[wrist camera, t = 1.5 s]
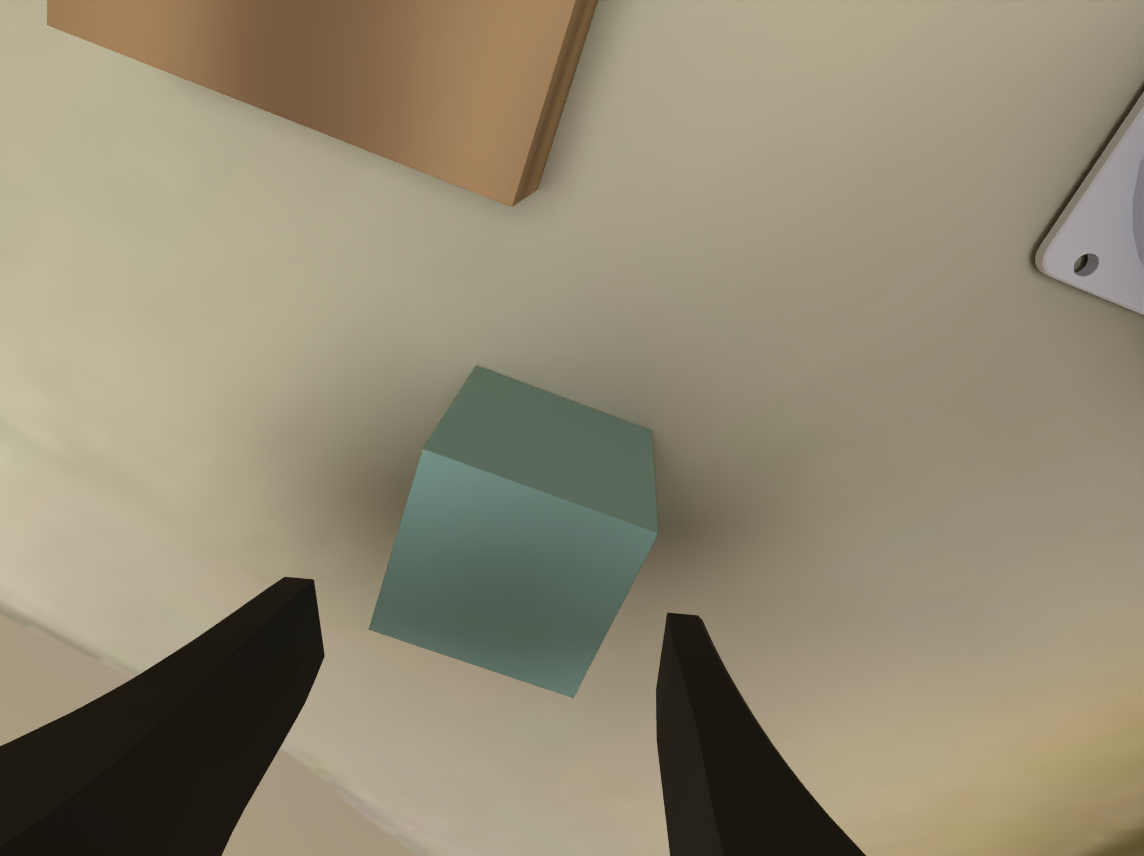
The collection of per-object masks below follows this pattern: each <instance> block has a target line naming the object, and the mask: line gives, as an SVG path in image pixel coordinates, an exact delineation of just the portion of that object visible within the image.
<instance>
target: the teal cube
mask: <svg viewBox="0 0 1144 856" xmlns="http://www.w3.org/2000/svg"><path fill="white" fill-rule="evenodd" d="M657 535H658V520H657V505H656V490H655V475H654V460H653V445H652V430H649V429H647V428H644V427H641V426H639V425H636V424H633V423H631V422H628V421H625V420H622V419H620V418H617V417H614V416H612V415H609V414H606V413H604V412H601V411H598V410H596V409H593V408H590V407H587V406H585V405H582V404H579V403H577V402H574V401H571V400H569V399H566V398H563V397H561V396H558V395H555V394H552V393H550V392H547V391H544V390H542V389H539V388H536V387H534V386H531V385H528V384H526V383H523V382H520V381H518V380H515V379H512V378H509V377H507V376H504V375H501V374H499V373H496V372H493V371H491V370H488V369H485V368H483V367H480V366H477V365H476V366H475V368H474V370H473V371H472V373H471V374H470V376H469V377H468V379H467V380H466V382H465V384H464V385H463V387H462V388H461V390H460V391H459V393H458V395H457V396H456V398H455V399H454V401H453V402H452V404H451V405H450V407H449V409H448V410H447V412H446V413H445V415H444V416H443V418H442V420H441V421H440V423H439V424H438V426H437V427H436V429H435V430H434V432H433V434H432V435H431V437H430V438H429V440H428V441H427V443H426V445H425V446H424V448H423V450H422V453H421V456H420V460H419V463H418V466H417V470H416V473H415V476H414V480H413V483H412V486H411V490H410V493H409V496H408V500H407V503H406V506H405V510H404V513H403V516H402V520H401V523H400V526H399V530H398V533H397V536H396V540H395V543H394V546H393V550H392V553H391V556H390V560H389V563H388V566H387V570H386V573H385V576H384V580H383V583H382V587H381V590H380V593H379V597H378V600H377V603H376V607H375V610H374V613H373V617H372V620H371V623H370V627H369V630H372V631H375V632H378V633H381V634H384V635H387V636H390V637H393V638H396V639H399V640H402V641H405V642H407V643H410V644H413V645H416V646H419V647H422V648H425V649H428V650H431V651H434V652H437V653H440V654H443V655H446V656H449V657H452V658H455V659H458V660H461V661H464V662H467V663H470V664H473V665H476V666H479V667H482V668H485V669H488V670H491V671H494V672H497V673H500V674H503V675H506V676H509V677H512V678H515V679H518V680H521V681H524V682H527V683H530V684H533V685H536V686H539V687H542V688H545V689H548V690H551V691H554V692H557V693H560V694H563V695H566V696H569V697H572V698H574V696H575V694H576V692H577V690H578V688H579V686H580V684H581V682H582V680H583V678H584V676H585V674H586V672H587V671H588V669H589V667H590V665H591V663H592V661H593V659H594V657H595V655H596V653H597V651H598V649H599V647H600V645H601V643H602V641H603V640H604V638H605V636H606V634H607V632H608V630H609V628H610V626H611V624H612V622H613V620H614V618H615V616H616V614H617V612H618V611H619V609H620V607H621V605H622V603H623V601H624V599H625V597H626V595H627V593H628V591H629V589H630V587H631V585H632V583H633V582H634V580H635V578H636V576H637V574H638V572H639V570H640V568H641V566H642V564H643V562H644V560H645V558H646V556H647V554H648V553H649V551H650V549H651V547H652V545H653V543H654V541H655V539H656V537H657Z"/></svg>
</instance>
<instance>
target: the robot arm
mask: <svg viewBox="0 0 1144 856" xmlns="http://www.w3.org/2000/svg"><path fill="white" fill-rule="evenodd" d="M1085 254H1087V255H1088V262H1087V264H1086V266H1085V267H1084V268H1083V269H1082V270H1081V271H1079V272H1076V273H1074V264H1075V262H1076V260H1077V259H1078V258H1080V257H1081V256H1082V255H1085ZM1035 264H1036V266H1037V268H1038V270H1039V271H1040V272H1042V273H1043V274H1045V275H1047V276H1049V277H1052V278H1054V279H1057V280H1059V281H1062V282H1064V283H1066V284H1069V285H1071V286H1074V287H1076V288H1079V289H1081V290H1083V291H1086V292H1088V293H1091V294H1093V295H1096V296H1098V297H1100V298H1103V299H1105V300H1108V301H1110V302H1113V303H1115V304H1117V305H1120V306H1122V307H1125V308H1127V309H1130V310H1132V311H1134V312H1137V313H1139V314H1142V315H1144V92H1143V93H1142V95H1141V96H1140V98H1139V99H1138V101H1137V102H1136V104H1135V105H1134V107H1133V108H1132V110H1131V111H1130V113H1129V114H1128V116H1127V117H1126V119H1125V120H1124V122H1123V123H1122V125H1121V126H1120V128H1119V129H1118V131H1117V132H1116V134H1115V135H1114V136H1113V138H1112V139H1111V141H1110V142H1109V144H1108V145H1107V147H1106V148H1105V150H1104V151H1103V153H1102V154H1101V156H1100V157H1099V159H1098V160H1097V162H1096V163H1095V165H1094V166H1093V168H1092V169H1091V171H1090V172H1089V174H1088V175H1087V177H1086V178H1085V180H1084V181H1083V183H1082V184H1081V186H1080V187H1079V188H1078V190H1077V191H1076V193H1075V194H1074V196H1073V197H1072V199H1071V200H1070V202H1069V203H1068V205H1067V206H1066V208H1065V209H1064V211H1063V212H1062V214H1061V215H1060V217H1059V218H1058V220H1057V221H1056V223H1055V224H1054V226H1053V227H1052V229H1051V230H1050V232H1049V233H1048V235H1047V236H1046V238H1045V239H1044V240H1043V242H1042V243H1041V245H1040V246H1039V249H1038V251H1037V253H1036V256H1035ZM324 656H325V655H324V648H323V641H322V634H321V627H320V620H319V613H318V606H317V599H316V591H315V584H314V580H313V579H302V578H292V577H284V578H282V579H281V580H279V581H278V582H276V583H275V584H273V585H272V586H270V587H269V588H267V589H266V590H265V591H263V592H262V593H260V594H259V595H258V596H256V597H255V598H253V599H252V600H250V601H249V602H248V603H246V604H245V605H243V606H242V607H241V608H239V609H238V610H236V611H235V612H234V613H232V614H231V615H229V616H228V617H226V618H225V619H223V620H222V621H221V622H219V623H218V624H216V625H215V626H213V627H212V628H210V629H209V630H208V631H206V632H205V633H203V634H202V635H200V636H199V637H197V638H196V639H194V640H193V641H192V642H190V643H188V644H187V645H185V646H184V647H182V648H181V649H179V650H177V651H176V652H174V653H173V654H171V655H170V656H168V657H166V658H165V659H163V660H162V661H160V662H159V663H157V664H155V665H154V666H152V667H151V668H149V669H148V670H146V671H144V672H143V673H141V674H140V675H138V676H136V677H135V678H133V679H131V680H130V681H128V682H126V683H124V684H123V685H121V686H119V687H117V688H116V689H114V690H112V691H110V692H109V693H107V694H105V695H103V696H101V697H99V698H97V699H96V700H94V701H92V702H90V703H88V704H86V705H85V706H83V707H81V708H79V709H77V710H75V711H73V712H71V713H69V714H67V715H65V716H63V717H61V718H59V719H57V720H55V721H53V722H51V723H48V724H46V725H44V726H42V727H40V728H38V729H36V730H34V731H32V732H30V733H28V734H26V735H23V736H21V737H19V738H17V739H15V740H13V741H11V742H9V743H7V744H4V745H2V746H0V856H222V853H223V851H224V849H225V847H226V845H227V842H228V840H229V838H230V836H231V834H232V832H233V830H234V828H235V826H236V824H237V822H238V820H239V819H240V817H241V815H242V813H243V811H244V809H245V807H246V806H247V804H248V802H249V800H250V798H251V797H252V795H253V793H254V792H255V790H256V788H257V786H258V785H259V783H260V781H261V779H262V778H263V776H264V774H265V773H266V771H267V769H268V767H269V766H270V764H271V762H272V760H273V759H274V757H275V755H276V753H277V752H278V750H279V748H280V747H281V745H282V743H283V741H284V740H285V738H286V736H287V734H288V733H289V731H290V729H291V727H292V725H293V724H294V722H295V720H296V718H297V717H298V715H299V713H300V711H301V709H302V708H303V706H304V704H305V702H306V700H307V697H308V695H309V693H310V690H311V688H312V686H313V683H314V681H315V679H316V676H317V674H318V671H319V669H320V666H321V664H322V661H323V659H324ZM656 720H657V746H658V755H659V763H660V772H661V781H662V789H663V798H664V806H665V815H666V823H667V832H668V840H669V849H670V856H866V855H865V854H864V853H863V852H862V851H861V850H860V849H859V848H858V847H857V845H856V844H855V843H854V842H853V841H852V840H851V839H850V838H849V837H848V836H847V835H846V834H845V833H844V831H843V830H842V829H841V828H840V827H839V826H838V825H837V824H836V823H835V822H834V821H833V820H832V819H831V817H830V816H829V815H828V814H827V813H826V812H825V811H824V809H823V808H822V807H821V806H820V805H819V803H818V802H817V801H816V800H815V799H814V797H813V796H812V795H811V794H810V793H809V791H808V790H807V789H806V788H805V787H804V785H803V784H802V783H801V781H800V780H799V779H798V778H797V776H796V775H795V774H794V772H793V771H792V770H791V769H790V767H789V766H788V765H787V763H786V762H785V761H784V759H783V758H782V756H781V755H780V754H779V752H778V751H777V749H776V748H775V747H774V745H773V744H772V742H771V741H770V739H769V738H768V736H767V735H766V734H765V732H764V731H763V729H762V728H761V726H760V725H759V723H758V722H757V720H756V718H755V717H754V715H753V714H752V712H751V711H750V709H749V707H748V706H747V704H746V702H745V701H744V699H743V697H742V696H741V694H740V692H739V691H738V689H737V687H736V686H735V684H734V682H733V680H732V679H731V677H730V675H729V673H728V671H727V670H726V668H725V666H724V664H723V662H722V660H721V658H720V656H719V654H718V652H717V650H716V648H715V646H714V644H713V642H712V640H711V638H710V636H709V634H708V632H707V629H706V627H705V625H704V622H703V620H702V619H701V618H700V617H699V616H697V615H686V614H676V613H667V619H666V626H665V632H664V639H663V646H662V653H661V660H660V667H659V674H658V680H657V687H656Z"/></svg>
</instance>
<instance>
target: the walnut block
mask: <svg viewBox="0 0 1144 856" xmlns="http://www.w3.org/2000/svg"><path fill="white" fill-rule="evenodd" d="M597 2H598V0H47V25H48V26H51V27H54V28H56V29H59V30H61V31H64V32H66V33H69V34H71V35H74V36H77V37H79V38H82V39H84V40H87V41H89V42H92V43H94V44H97V45H99V46H102V47H105V48H107V49H110V50H112V51H115V52H117V53H120V54H122V55H125V56H128V57H130V58H133V59H135V60H138V61H140V62H143V63H145V64H148V65H151V66H153V67H156V68H158V69H161V70H163V71H166V72H168V73H171V74H174V75H176V76H179V77H181V78H184V79H186V80H189V81H191V82H194V83H197V84H199V85H202V86H204V87H207V88H209V89H212V90H214V91H217V92H220V93H222V94H225V95H227V96H230V97H232V98H235V99H237V100H240V101H243V102H245V103H248V104H250V105H253V106H255V107H258V108H260V109H263V110H266V111H268V112H271V113H273V114H276V115H278V116H281V117H283V118H286V119H289V120H291V121H294V122H296V123H299V124H301V125H304V126H306V127H309V128H311V129H314V130H317V131H319V132H322V133H324V134H327V135H329V136H332V137H334V138H337V139H340V140H342V141H345V142H347V143H350V144H352V145H355V146H357V147H360V148H363V149H365V150H368V151H370V152H373V153H375V154H378V155H380V156H383V157H386V158H388V159H391V160H393V161H396V162H398V163H401V164H403V165H406V166H409V167H411V168H414V169H416V170H419V171H421V172H424V173H426V174H429V175H432V176H434V177H437V178H439V179H442V180H444V181H447V182H449V183H452V184H455V185H457V186H460V187H462V188H465V189H467V190H470V191H472V192H475V193H477V194H480V195H483V196H485V197H488V198H490V199H493V200H495V201H498V202H500V203H503V204H506V205H508V206H511V207H513V206H514V205H515V204H517V203H518V202H520V201H521V200H523V199H524V198H526V197H527V196H528V195H530V194H531V193H533V192H534V191H536V190H537V189H538V186H539V182H540V179H541V176H542V173H543V170H544V167H545V164H546V161H547V158H548V154H549V151H550V148H551V145H552V142H553V139H554V136H555V133H556V130H557V127H558V123H559V120H560V117H561V114H562V111H563V108H564V105H565V102H566V99H567V95H568V92H569V89H570V86H571V83H572V80H573V77H574V74H575V71H576V67H577V64H578V61H579V58H580V55H581V52H582V49H583V46H584V43H585V40H586V36H587V33H588V30H589V27H590V24H591V21H592V18H593V15H594V12H595V8H596V5H597Z"/></svg>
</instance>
